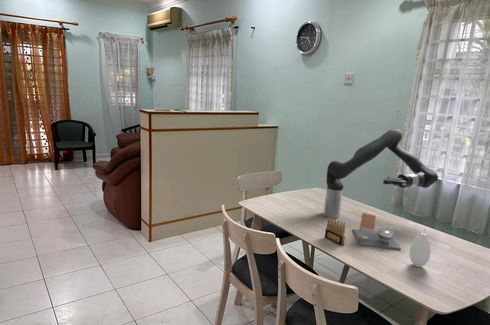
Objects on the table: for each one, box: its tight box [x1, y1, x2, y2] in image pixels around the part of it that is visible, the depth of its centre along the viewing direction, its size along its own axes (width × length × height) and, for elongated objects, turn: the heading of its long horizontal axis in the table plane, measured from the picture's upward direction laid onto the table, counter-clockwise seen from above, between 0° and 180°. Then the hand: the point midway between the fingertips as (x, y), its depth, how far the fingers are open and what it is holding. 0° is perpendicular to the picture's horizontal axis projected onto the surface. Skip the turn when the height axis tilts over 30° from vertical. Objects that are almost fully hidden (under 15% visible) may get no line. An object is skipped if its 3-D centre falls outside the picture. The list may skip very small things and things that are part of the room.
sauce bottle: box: [409, 228, 432, 268], centre depth 143 cm, size 8×8×18 cm
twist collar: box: [359, 212, 394, 239], centre depth 164 cm, size 16×7×10 cm, turn 63°
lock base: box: [352, 228, 402, 251], centre depth 168 cm, size 19×18×4 cm
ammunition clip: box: [323, 216, 346, 247], centre depth 162 cm, size 11×2×12 cm, turn 37°
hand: (384, 182), depth 175 cm, fingers closed
